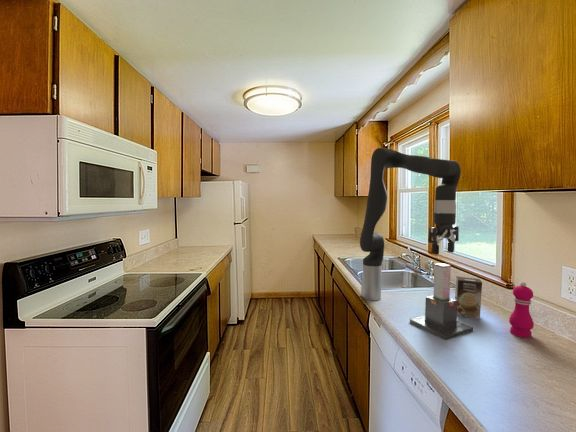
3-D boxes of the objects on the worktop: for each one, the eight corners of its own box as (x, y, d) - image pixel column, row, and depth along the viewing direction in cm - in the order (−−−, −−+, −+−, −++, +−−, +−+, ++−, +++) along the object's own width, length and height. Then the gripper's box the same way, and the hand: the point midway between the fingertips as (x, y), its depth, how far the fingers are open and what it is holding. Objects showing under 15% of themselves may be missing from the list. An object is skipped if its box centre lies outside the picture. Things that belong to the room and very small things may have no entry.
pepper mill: (537, 339, 105) (540, 285, 104) (515, 337, 106) (518, 284, 105) (525, 330, 112) (528, 280, 111) (504, 328, 113) (507, 278, 112)
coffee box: (455, 315, 126) (457, 279, 125) (454, 310, 132) (455, 276, 131) (480, 319, 122) (482, 282, 121) (478, 314, 128) (479, 278, 127)
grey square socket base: (409, 322, 119) (410, 295, 118) (436, 315, 126) (437, 289, 125) (445, 339, 105) (446, 308, 104) (473, 331, 111) (474, 302, 111)
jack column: (432, 308, 116) (434, 264, 115) (439, 307, 118) (441, 263, 116) (442, 312, 112) (443, 266, 111) (449, 310, 114) (451, 265, 113)
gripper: (448, 211, 119) (446, 250, 120) (423, 211, 113) (422, 252, 114) (466, 212, 112) (464, 253, 113) (440, 212, 106) (439, 256, 107)
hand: (443, 253), depth 113 cm, fingers open, 8 cm apart
